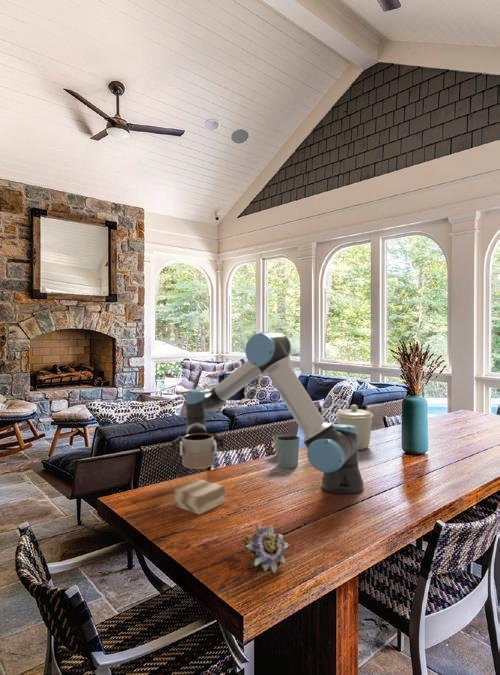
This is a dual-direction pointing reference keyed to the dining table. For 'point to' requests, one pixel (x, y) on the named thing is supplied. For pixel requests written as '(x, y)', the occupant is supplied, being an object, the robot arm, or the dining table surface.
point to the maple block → (199, 496)
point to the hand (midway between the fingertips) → (198, 450)
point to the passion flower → (266, 548)
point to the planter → (198, 450)
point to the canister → (357, 423)
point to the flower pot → (276, 443)
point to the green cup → (287, 451)
